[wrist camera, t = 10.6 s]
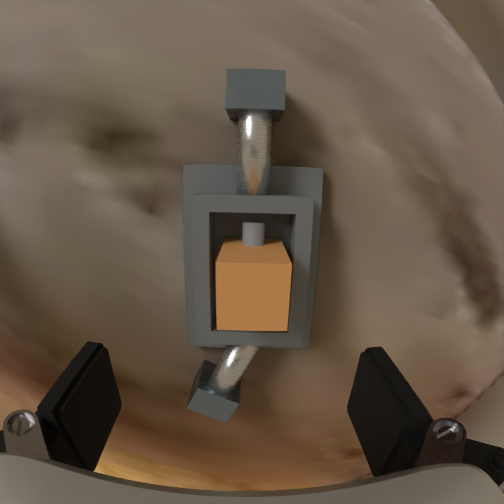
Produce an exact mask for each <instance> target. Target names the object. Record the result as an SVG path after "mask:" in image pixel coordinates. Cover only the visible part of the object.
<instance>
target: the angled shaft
mask: <svg viewBox="0 0 504 504" xmlns="http://www.w3.org/2000/svg"><path fill="white" fill-rule="evenodd" d="M260 347H261V346H252V345H228V347H227V349H226V350H225V352H224V354H223V356H222V358H221V359H220V361H219V363H218V365H215V364H213V363H210V362H208V361H206V360H204V362H203V364H202V366H201V367H200V369H199V371H198V373H197V375H196V377H195V379H194V381H193V385H192V389H191V393H190V397H189V401H188V405H187V409H190V410H192V411H195V412H197V413H200V414H203V415H205V416H208V417H211V418H214V419H216V420H219V421H222V422H225V423H226V422H227V421H228V420H229V418H230V417H231V415H232V414H233V413H234V411H235V410H236V408H237V407H238V405H239V404H240V384H241V377H242V376H243V374H244V373H245V371H246V369H247V368H248V366H249V365H250V363H251V361H252V360H253V358H254V357H255V355H256V353H257V352H258V350H259V349H260Z"/></svg>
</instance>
